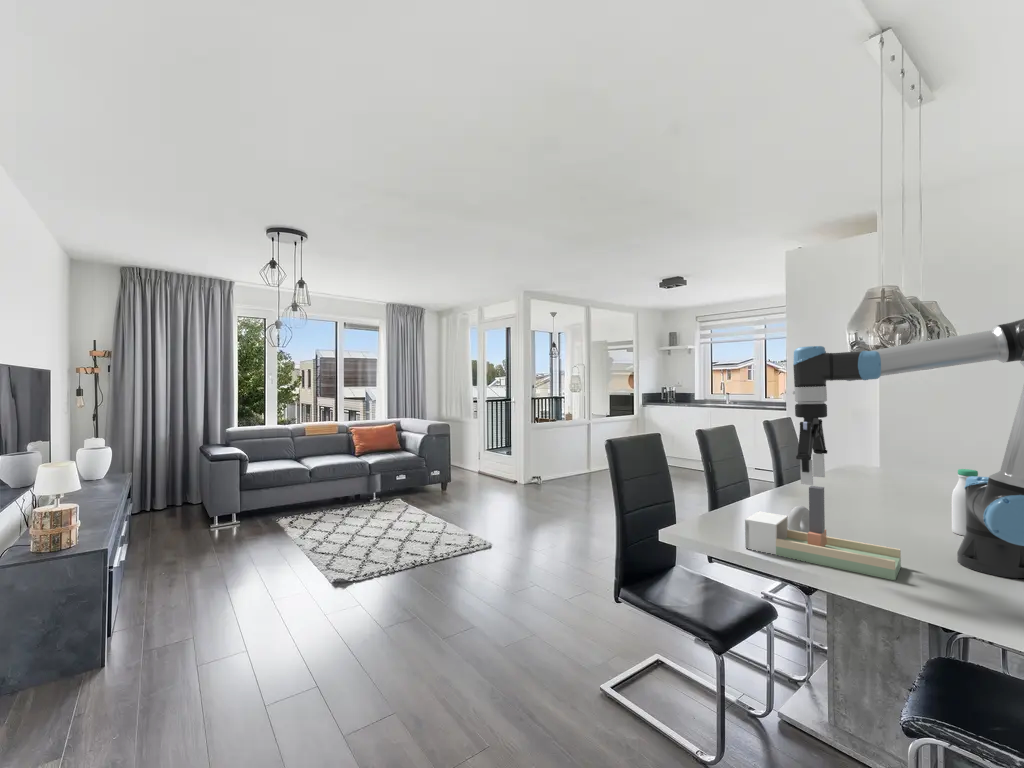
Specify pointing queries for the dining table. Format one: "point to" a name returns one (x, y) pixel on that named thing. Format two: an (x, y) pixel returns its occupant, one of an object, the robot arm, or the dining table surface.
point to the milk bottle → (960, 502)
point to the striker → (816, 517)
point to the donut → (799, 519)
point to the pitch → (819, 547)
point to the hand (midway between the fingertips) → (813, 480)
